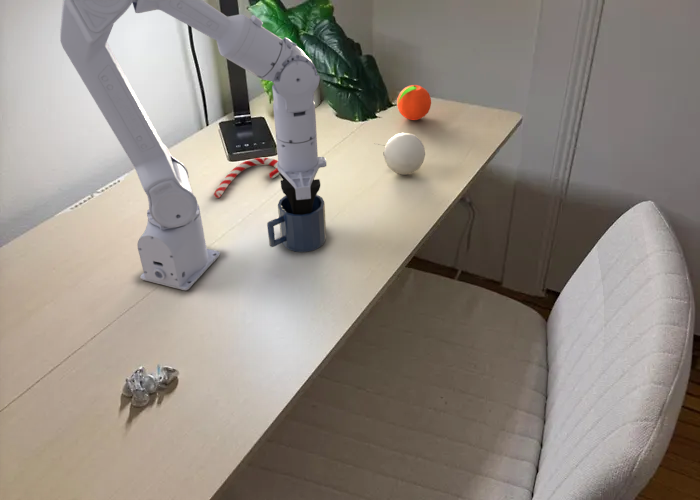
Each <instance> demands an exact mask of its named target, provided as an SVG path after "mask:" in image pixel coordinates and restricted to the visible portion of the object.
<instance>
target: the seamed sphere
mask: <svg viewBox="0 0 700 500" xmlns="http://www.w3.org/2000/svg"><path fill="white" fill-rule="evenodd" d="M373 144H374V145H376V142H375V143H373ZM377 146H381V144H380V143H377ZM382 146H384V149H383V158H384V162H385V164H386V166H387V167H388V168H389V169H390V171H392V172H393V173H395V174H399V175H411V174H413V173H415V172H416V171H418V170H419V169H420V168H421V166H423V164H424V161H425V159H426V148H425V145H424V144H423V142H422V139H420V138H419V137H417V135H416V134H414V133H409V132H401V133H396V134H395V135H393V136H392V137H391V138H389V139H388V140H387V142H386V144H382Z"/></svg>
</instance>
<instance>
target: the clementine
mask: <svg viewBox="0 0 700 500" xmlns="http://www.w3.org/2000/svg"><path fill="white" fill-rule="evenodd" d="M396 104H397V105H396V106H397V110H398V112H399V114H401V116H402V117H404V118H405V119H407V120H410V121H419V120H421V119H423V118H424V117H425V116H427V114H428V113H429V112H430V110H431V107H432V99H431V95H430V92H428V90H427V89H426V88H424V87H422V86H421V85H418V84H411V85H408V86H406V87H404V88H403V89H402V90H401V91H400V92H399V94H398V97H397V100H396Z"/></svg>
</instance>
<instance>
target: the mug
mask: <svg viewBox="0 0 700 500" xmlns="http://www.w3.org/2000/svg"><path fill="white" fill-rule="evenodd" d="M325 203H326V202H325V200H324V198H323V197H322V196H320V195H319V194H318V193H317V194H316V196H315V199H314V202H313V207H312V213H309V214H303V215H297V214H293V211H292V207H291V204H290V202H289V200H288V198H287V196H286V195H284V196H283V197H281V198H280V199H279V201H278V203H277V213H278V217H276V218H274V219H271V220H269V221H268V222H267V223H266V226H267V235H268V244H269V245H268V246H269V247H270V248H275V247H276V246H279V245H281V244H282V246H283V247H284V248H286V249H287V250H289V251H292V252H296V253H297V252H298V253H307V252H312V251H315V250H317V249H320V248H321V247H322V246H323V245H324V244H325V242H326V240H327V226H326V225H327V223H326V205H325ZM277 225H279V234H280V237H278V238H276V237H275V228H274V227H275V226H277Z"/></svg>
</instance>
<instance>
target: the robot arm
mask: <svg viewBox="0 0 700 500" xmlns="http://www.w3.org/2000/svg"><path fill="white" fill-rule="evenodd" d="M131 5H132V6H133V9H134V13H135V14H142V13H146V12H147V13H148V12H152V11H161V12H163V13H165V14H166V15H168V16H171V18H174V19H176V20H177V21H180V22H181V23H183V24H185V25H187V26H188V27H191V28H192V29H194V30H196V31H198V32H200V33H201V34H204V35H205V36H207V37H209V38H210V39H212V40H214V41H215V42H216V44H217V48H218V49H217V50H218V52H219V55H220V56H222V57H223V58H225V59H226V60H228V61H230V62H232V63H233V64H235V65H237V66H238V67H240V68H242V69H244V70H245V71H247V72H249V73H250V74H252V75H254V76H256V77H257V78H259V79H260V80H263V81H269V82H272V86H271V89H272V100H273V103H272V108H273V119H274V129H275V143H276V153H277V154H276V155H277V161H278V162H277V169H278V171H279V177H280V178H281V180H280V189H281V191H282V193H283V194H284V196H287V198H288V200H289V202H290V204H291V207H292V211H293V214H297V215H303V214H309V213H312V207H313V202H314V199H315V196H316V194H317V195H318V192H319V191H320V189H321V179H320V178H317V179H315V178H316V176H317V174H318V171H319V169H321V168H325V167H327V159H326V157H325V156H319V154H318V137H317V135H318V134H317V133H318V132H317V117H316V115H317V114H316V103H315V92H316V91H317V89H318V87H319V85H320V79H321V76H320V75H319V73H318V71H317V68H316V66H315V64H314V63H313V61H312V60H311V59H310V58H309V56H308V55H306V53H305V52H304V50H303V49H301V48H300V47H299V46H298V45H297V43H295V42H293V41H292V40H291V39H289V38H288V37H283V38H281V37H280V36H278V35H276V34H275V33H273V32H272V31H270V30H268V29H267V28H265V27H264V26H263V24H264V22H263V21H262V20H261V19H260V18H259V17H257V16H256V15H254V14H252V15H251V16H250V17H249V16H247V15H245V14H243V13H241V14H240V13H239V14H234V15H230V16H229V15H225V14H224V13H223V12H221V11H220V10H218V9H217V8H215V7H214V6H213V5H212V4H210V3H208V2H206V1H205V0H62V7H61V18H60V19H61V20H60V29H59V30H60V31H59V33H60V34H59V36H60V44H61V47H62V49H63V51H64V52H65V54H66V56H67V57H68V59H69V60H70V62H71V63H72V66H73V67H74V69H75V70H76V72H77V74H78V75H79V77H80V79H81V81H82V82H83V84H84V85H85V87H86V89H87V91H88V92H89V94H90V95H91V97H92V99H93V101H94V102H95V105H96V106H97V107H98V109H99V110H100V112H101V113H102V115H103V117H104V119H105V120H106V122H107V124H108V126H109V128H110V130H111V131H112V133H113V135H114V136H115V137H116V139H117V141H118V142H119V144H120V146H121V147H122V149H123V150H124V153H125V154H126V156H127V158H128V159H129V160H130V162H131V164H132V166H133V167H134V170H135V172H136V175H137V177H138V179H139V181H140V184H141V186H142V189H143V191H144V193H145V195H146V197H147V201H148V209H147V211H146V217H147V222H146V223H147V224H146V226H145V230H144V232H143V233H142V235H141V236H140V237H139V238H138V239H137V245H136V246H137V251H138V255H139V259H140V263H141V267H142V271H143V272H142V273H141V275H140V279H141V280H142V281H146V282H150V283H154V284H157V285H162V286H166V287H170V288H173V289H178V290H182V291H189V289H191V287H192V286H193V285H194V284H195V283H196V282H197V281H198V280H199V279H200V277H201V276H202V275H204V273H205V272H206V271H207V270H208V269H209V268H210V267H211V265H213V263H215V261H216V260H217V259H218V258H219V257H220V256H221V252H220V251H218V250H215V249H210V248H208V247H207V242H206V237H205V231H204V226H203V220H202V215H201V209H200V205H199V203H198V200H197V196H196V195H195V194H194V191H193V188H192V184H191V181H190V176H189V172H188V169H187V167H186V165H184V163H183V162H182V161H180V160H178V159H177V158H175V156H173V155H172V154H171V151H170V149H169V148H168V147H167V146H166V145H165V144H164V143H163V141H162V139H161V137H160V136H159V133H158V131H157V130H156V128H155V127H154V125H153V123H152V121H151V119H150V117H149V115H148V113H147V112H146V111H145V109H144V106H143V105H142V103H141V101H140V99H139V97H138V96H137V94H136V92H135V90H134V88H133V86H132V84H131V83H130V81H129V79H128V77H127V75H126V73H125V72H124V70H123V68H122V67H121V65H120V63H119V61H118V59H117V58H116V55H115V54H114V51H113V50H112V48H111V47H110V45H109V43H108V39H109V37H110V35H111V33H112V29H113V28H114V24H115V23H116V22H118V20H119V19H120V18H121V17H122V16H123V15H124V14H125V13H126V12H127V11H128V9H129V8H130V7H131Z"/></svg>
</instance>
